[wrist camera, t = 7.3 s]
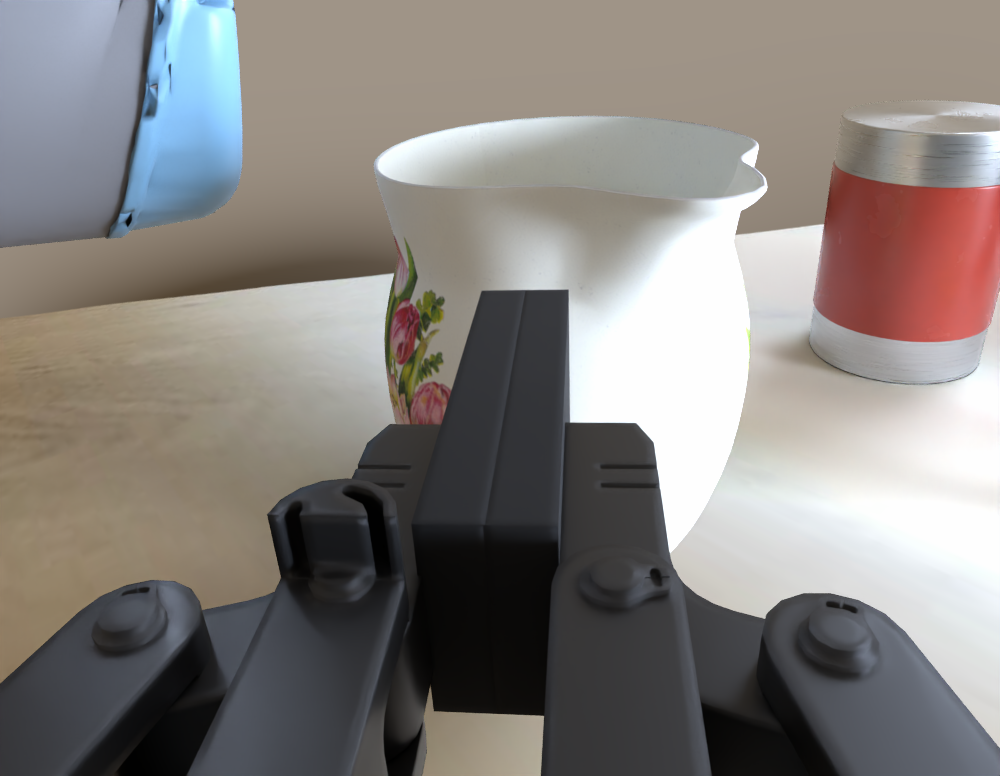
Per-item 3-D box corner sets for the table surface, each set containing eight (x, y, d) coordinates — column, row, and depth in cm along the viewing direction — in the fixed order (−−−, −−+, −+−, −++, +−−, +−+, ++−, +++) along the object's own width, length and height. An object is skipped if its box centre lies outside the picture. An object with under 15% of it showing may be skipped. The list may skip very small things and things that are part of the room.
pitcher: (582, 381, 39) (583, 70, 32) (857, 643, 24) (961, 160, 17) (352, 433, 35) (301, 99, 29) (501, 774, 20) (464, 240, 14)
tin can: (830, 385, 37) (870, 136, 32) (792, 317, 44) (820, 102, 39) (1010, 385, 36) (1082, 130, 31) (943, 316, 43) (993, 97, 38)
